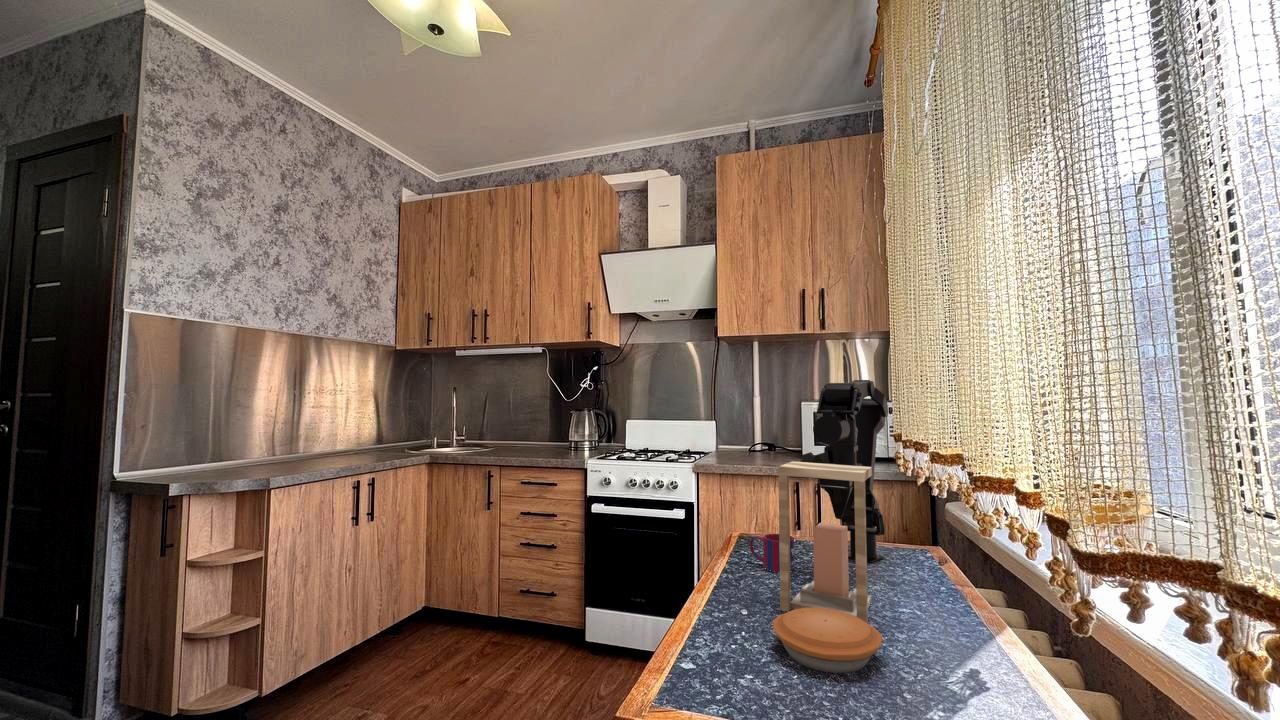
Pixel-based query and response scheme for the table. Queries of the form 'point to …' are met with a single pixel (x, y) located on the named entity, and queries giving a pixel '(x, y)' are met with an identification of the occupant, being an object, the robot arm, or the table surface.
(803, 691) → the table surface
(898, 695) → the table surface
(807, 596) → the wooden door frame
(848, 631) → the pie
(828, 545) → the block
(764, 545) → the mug
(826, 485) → the robot arm
